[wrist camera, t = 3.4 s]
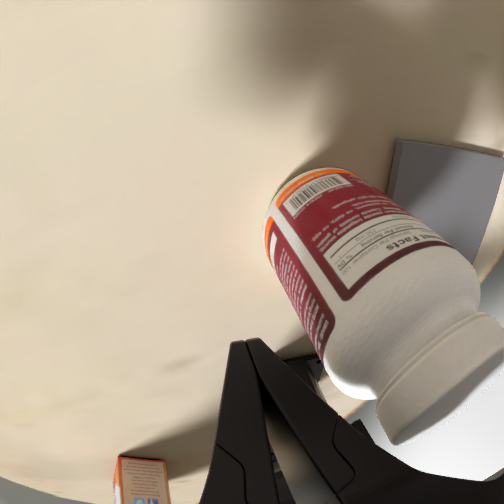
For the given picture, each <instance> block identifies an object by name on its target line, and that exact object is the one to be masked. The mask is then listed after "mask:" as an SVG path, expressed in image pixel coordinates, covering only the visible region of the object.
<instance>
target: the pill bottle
mask: <svg viewBox="0 0 504 504" xmlns="http://www.w3.org/2000/svg"><path fill="white" fill-rule="evenodd" d="M263 244H264V249H265V252H266V254H267V256H268V259H269V261H270V263H271V265H272V267H273V269H274V270H275V272H276V274H277V276H278V278H279V280H280V282H281V284H282V286H283V287H284V289H285V291H286V293H287V295H288V297H289V299H290V301H291V303H292V305H293V307H294V309H295V311H296V312H297V314H298V316H299V318H300V320H301V322H302V324H303V326H304V328H305V330H306V332H307V334H308V336H309V338H310V340H311V342H312V344H313V346H314V348H315V350H316V352H317V354H318V356H319V358H320V360H321V362H322V364H323V366H324V368H325V370H326V371H327V373H328V375H329V377H330V379H331V380H332V382H333V383H334V385H335V386H336V387H337V388H338V389H339V390H341V391H342V392H343V393H345V394H347V395H348V396H351V397H354V398H358V399H367V400H371V399H377V401H376V403H375V412H376V414H377V417H378V419H379V421H380V423H381V425H382V427H383V429H384V430H385V432H386V434H387V436H388V438H389V440H390V442H391V443H392V444H393V445H403V444H407V443H410V442H412V441H415V440H417V439H419V438H421V437H423V436H425V435H427V434H429V433H431V432H432V431H434V430H436V429H438V428H439V427H441V426H442V425H444V424H445V423H447V422H448V421H450V420H451V419H453V418H454V417H455V416H457V415H458V414H459V413H460V412H462V411H463V410H464V409H465V408H467V406H469V405H470V404H471V403H472V402H474V401H475V400H476V399H477V398H478V397H479V396H480V395H481V394H482V393H483V392H484V391H485V390H486V389H487V388H488V387H489V386H490V385H491V384H492V383H493V382H494V380H495V379H496V378H497V377H498V375H500V373H501V372H502V371H503V369H504V328H503V327H502V326H501V325H500V323H499V322H498V321H497V320H496V319H495V318H494V317H491V316H490V314H488V313H486V312H480V313H478V308H479V303H480V283H479V279H478V276H477V274H476V271H475V269H474V268H473V266H472V265H471V264H470V262H469V261H468V260H467V259H466V258H465V257H464V256H462V255H461V254H460V253H459V252H458V251H457V250H456V249H455V248H454V247H452V246H451V245H450V244H449V243H448V242H446V241H445V240H444V239H443V238H442V237H440V236H439V235H438V234H436V233H435V232H434V231H433V230H431V229H430V228H429V227H428V226H426V225H425V224H424V223H423V222H421V221H420V220H419V219H417V218H416V217H415V216H413V215H412V214H411V213H409V212H408V211H407V210H405V209H404V208H403V207H401V206H400V205H399V204H397V203H396V202H394V201H393V200H392V199H390V198H389V197H388V196H386V195H385V194H383V193H382V192H380V191H379V190H378V189H376V188H375V187H373V186H372V185H370V184H369V183H367V182H366V181H365V180H363V179H362V178H360V177H358V176H357V175H355V174H353V173H351V172H349V171H346V170H343V169H339V168H327V167H326V168H318V169H313V170H310V171H307V172H305V173H303V174H300V175H299V176H297V177H295V178H294V179H292V180H291V181H289V182H288V183H287V184H286V185H285V186H284V187H283V188H282V189H281V190H280V191H279V192H278V193H277V195H276V196H275V197H274V199H273V200H272V202H271V204H270V206H269V208H268V210H267V212H266V215H265V219H264V223H263Z"/></svg>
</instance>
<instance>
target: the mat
mask: <svg viewBox="0 0 504 504" xmlns="http://www.w3.org/2000/svg"><path fill="white" fill-rule="evenodd" d="M503 172H504V158H503V157H501V156H497V155H492V154H488V153H483V152H478V151H473V150H468V149H462V148H456V147H450V146H444V145H438V144H431V143H424V142H417V141H409V140H400V139H396V144H395V150H394V156H393V162H392V168H391V173H390V179H389V184H388V189H387V194H386V196H388V197H389V198H390V199H392V200H393V201H394V202H396V203H397V204H399V205H400V206H401V207H403V208H404V209H405V210H407V211H408V212H409V213H411V214H412V215H413V216H415V217H416V218H417V219H419V220H420V221H421V222H423V223H424V224H425V225H426V226H428V227H429V228H430V229H431V230H433V231H434V232H435V233H436V234H438V235H439V236H440V237H442V238H443V239H444V240H445V241H446V242H448V243H449V244H450V245H451V246H452V247H454V248H455V249H456V250H457V251H458V252H459V253H460V254H461V255H462V256H464V257H465V258H466V259H467V260H468V261H469V262H470V264H471V265H472V264H473V262H474V259H475V257H476V254H477V252H478V249H479V247H480V244H481V242H482V239H483V236H484V234H485V231H486V228H487V225H488V222H489V219H490V216H491V213H492V210H493V207H494V204H495V201H496V197H497V194H498V190H499V187H500V183H501V179H502V176H503Z"/></svg>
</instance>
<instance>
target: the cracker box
mask: <svg viewBox="0 0 504 504" xmlns="http://www.w3.org/2000/svg"><path fill="white" fill-rule="evenodd" d="M113 496H114V504H171V499H170V492H169V485H168V477H167V470H166V462H165V461H157V460H146V459H136V458H129V457H118V460H117V465H116V470H115V475H114V481H113Z"/></svg>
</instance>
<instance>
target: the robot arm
mask: <svg viewBox="0 0 504 504" xmlns="http://www.w3.org/2000/svg"><path fill="white" fill-rule="evenodd" d="M322 369H323V364H322V362H321V360H320V358H319V356H318V354H314V355H310V356H306V357H301V358H296V359H292V360H287V361H282V360H281V359H280V358H279V357H278V356H277V355H276V354H275V353H274V352H273V351H272V350H271V349H270V348H269V347H268V346H267V345H266V344H265V343H264V342H263V341H262V340H261V339H260V338H252V339H247V340H246V341H244V340H240V341H233V342H231V344H230V349H229V355H228V361H227V367H226V373H225V379H224V385H223V391H222V397H221V403H220V409H219V416H218V422H217V428H216V434H215V440H214V446H213V452H212V458H211V463H210V468H209V473H208V476H207V480H206V483H205V487H204V490H203V493H202V496H201V499H200V502H199V504H504V468H503V469H501V470H500V471H498V472H497V473H495V474H493V475H492V476H490V477H488V478H487V479H485V480H484V481H474V480H466V479H458V478H452V477H446V476H440V475H434V474H429V473H425V472H421V471H419V470H416V469H414V468H412V467H410V466H409V465H407V464H405V463H404V462H402V461H400V460H399V459H397V458H396V457H394V456H393V455H391V454H390V453H388V452H387V451H385V450H384V449H382V448H380V447H379V446H378V445H376V444H375V443H374V441H373V439H372V438H371V436H370V434H369V433H368V431H367V429H366V428H365V426H364V425H363V423H362V421H361V420H360V419H358V420H356V421H353V422H352V424H349V423H348V422H347V421H346V420H345V419H343V418H342V417H341V416H340V415H338V413H337V412H336V411H335V410H334V409H332V408H331V407H330V406H329V405H328V404H327V402H326V400H325V398H324V395H323V393H322V391H321V389H320V387H319V384H318V381H319V378H320V375H321V372H322Z"/></svg>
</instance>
